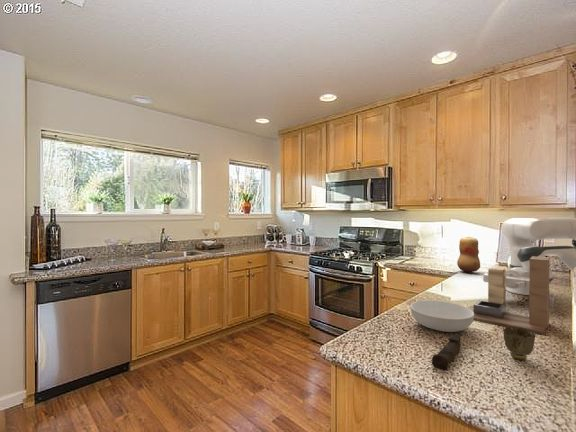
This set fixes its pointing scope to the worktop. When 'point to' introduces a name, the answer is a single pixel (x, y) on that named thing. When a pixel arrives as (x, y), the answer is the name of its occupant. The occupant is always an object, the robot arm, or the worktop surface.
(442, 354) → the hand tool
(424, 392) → the worktop surface
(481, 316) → the l-shaped wooden bracket
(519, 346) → the cup
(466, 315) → the serving bowl
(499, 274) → the rail bar
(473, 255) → the butternut squash
